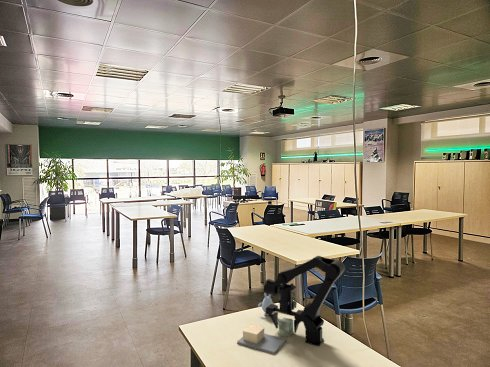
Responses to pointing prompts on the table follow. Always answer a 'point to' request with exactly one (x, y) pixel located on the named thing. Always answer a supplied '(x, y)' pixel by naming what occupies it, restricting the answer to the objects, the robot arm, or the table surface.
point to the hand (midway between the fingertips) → (286, 330)
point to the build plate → (260, 340)
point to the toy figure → (266, 302)
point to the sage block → (286, 326)
